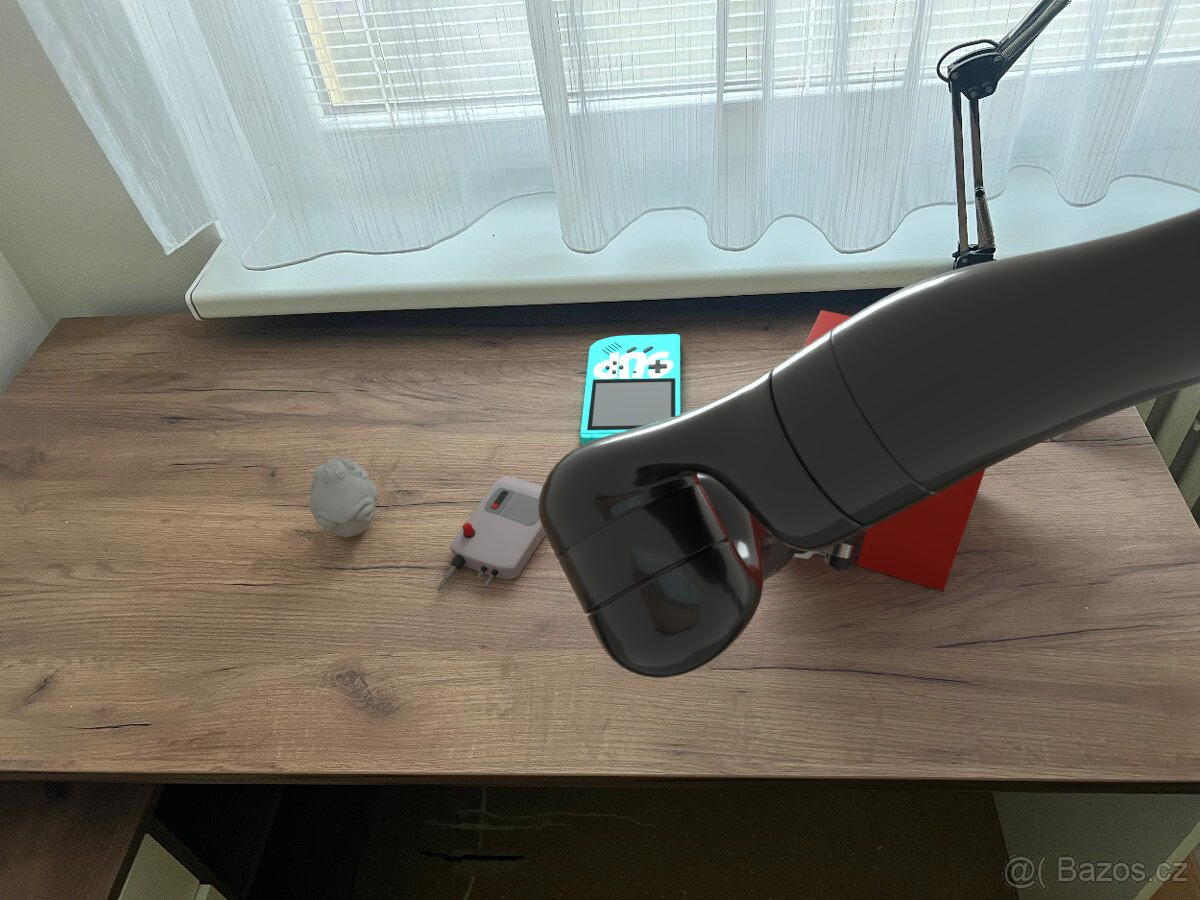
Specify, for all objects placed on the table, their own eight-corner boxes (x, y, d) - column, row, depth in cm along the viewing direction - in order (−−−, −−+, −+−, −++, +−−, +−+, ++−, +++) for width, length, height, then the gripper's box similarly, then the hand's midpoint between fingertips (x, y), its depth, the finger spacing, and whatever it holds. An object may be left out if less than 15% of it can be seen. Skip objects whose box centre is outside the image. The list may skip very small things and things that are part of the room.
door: (931, 644, 68) (976, 512, 56) (745, 584, 73) (753, 453, 62) (946, 582, 71) (991, 447, 60) (768, 529, 77) (780, 396, 66)
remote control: (577, 486, 82) (574, 464, 80) (492, 616, 73) (486, 595, 71) (516, 468, 85) (511, 446, 83) (426, 591, 75) (419, 570, 73)
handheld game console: (682, 342, 96) (682, 332, 95) (683, 445, 85) (682, 435, 84) (591, 344, 97) (590, 334, 96) (580, 446, 86) (579, 437, 85)
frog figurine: (383, 490, 84) (363, 438, 79) (390, 544, 79) (370, 493, 74) (320, 506, 83) (296, 455, 78) (323, 561, 78) (298, 511, 73)
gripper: (863, 500, 50) (880, 493, 65) (636, 438, 55) (700, 445, 70) (829, 625, 51) (853, 589, 66) (607, 552, 56) (677, 535, 71)
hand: (774, 515), depth 68 cm, fingers open, 8 cm apart
